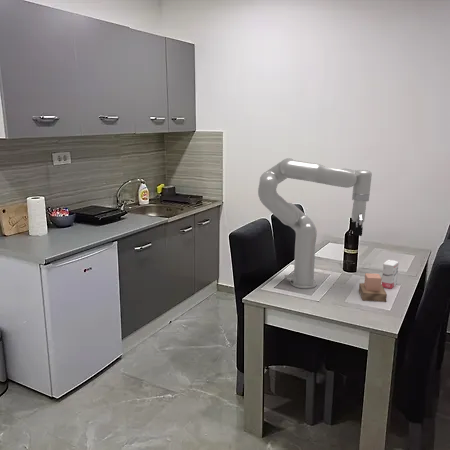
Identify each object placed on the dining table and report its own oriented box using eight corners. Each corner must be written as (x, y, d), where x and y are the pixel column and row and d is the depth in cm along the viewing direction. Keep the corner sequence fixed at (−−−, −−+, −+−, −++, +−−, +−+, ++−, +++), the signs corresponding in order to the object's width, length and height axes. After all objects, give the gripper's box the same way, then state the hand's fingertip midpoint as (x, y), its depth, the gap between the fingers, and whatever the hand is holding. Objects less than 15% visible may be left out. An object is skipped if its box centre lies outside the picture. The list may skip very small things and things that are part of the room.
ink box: (391, 289, 209) (393, 265, 206) (380, 287, 212) (382, 263, 209) (397, 284, 216) (399, 261, 213) (386, 281, 219) (389, 259, 216)
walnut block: (362, 301, 197) (363, 292, 196) (358, 291, 208) (359, 283, 207) (386, 302, 195) (386, 294, 194) (381, 292, 207) (381, 284, 206)
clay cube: (366, 290, 199) (367, 277, 197) (364, 285, 204) (365, 273, 203) (380, 291, 198) (381, 278, 197) (377, 286, 204) (378, 273, 202)
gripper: (350, 193, 213) (347, 228, 217) (354, 199, 196) (350, 237, 200) (366, 194, 211) (362, 229, 216) (371, 201, 195) (367, 238, 199)
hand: (356, 232), depth 208 cm, fingers open, 9 cm apart
